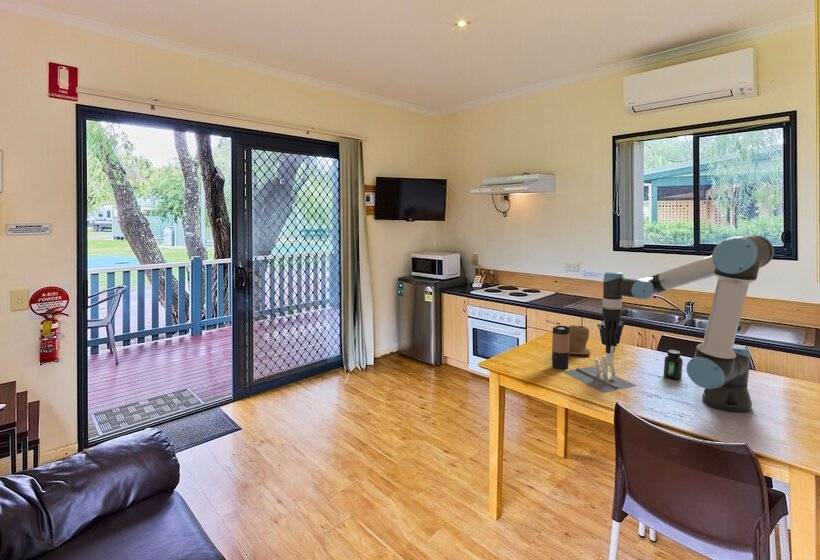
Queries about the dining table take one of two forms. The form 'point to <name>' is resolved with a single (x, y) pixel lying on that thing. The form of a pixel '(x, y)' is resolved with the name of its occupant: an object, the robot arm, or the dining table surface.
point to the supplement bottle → (673, 365)
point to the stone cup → (578, 340)
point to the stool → (605, 368)
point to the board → (598, 379)
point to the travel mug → (560, 347)
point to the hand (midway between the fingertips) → (609, 359)
